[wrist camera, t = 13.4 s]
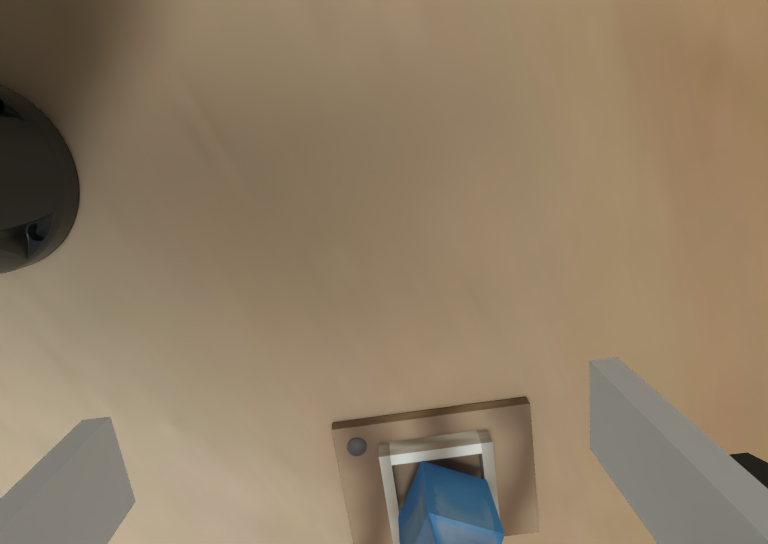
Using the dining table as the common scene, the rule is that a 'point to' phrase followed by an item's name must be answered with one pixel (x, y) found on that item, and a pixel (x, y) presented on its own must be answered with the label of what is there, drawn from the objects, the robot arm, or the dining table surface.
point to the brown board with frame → (436, 462)
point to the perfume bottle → (448, 509)
